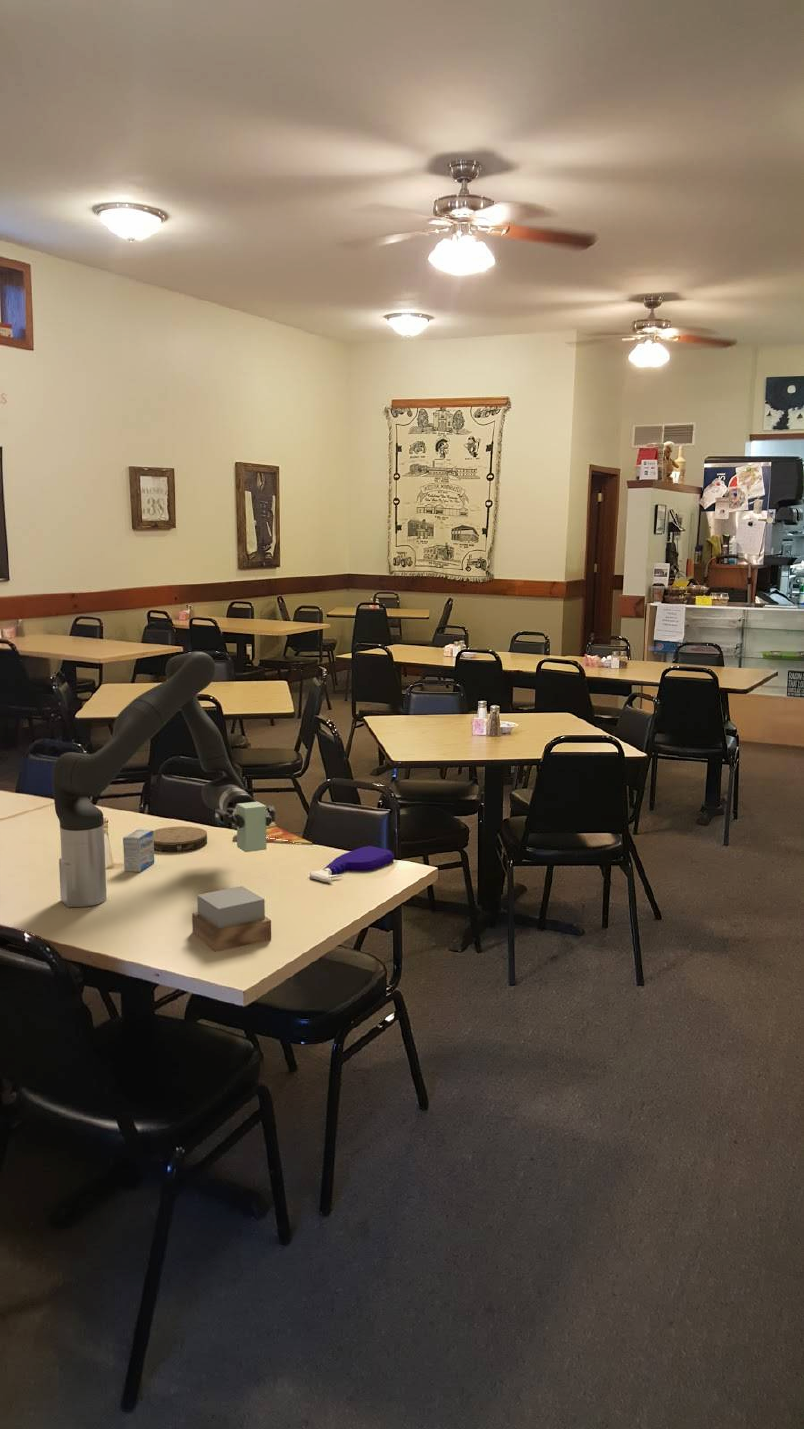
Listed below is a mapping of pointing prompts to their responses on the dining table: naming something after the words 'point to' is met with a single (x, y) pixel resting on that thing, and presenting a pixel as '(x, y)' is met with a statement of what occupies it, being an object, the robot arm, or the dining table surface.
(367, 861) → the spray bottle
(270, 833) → the pizza slice
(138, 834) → the medicine box
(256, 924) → the walnut base block
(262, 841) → the sage pillar block
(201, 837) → the brown round disc
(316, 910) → the dining table surface
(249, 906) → the slate grey block
